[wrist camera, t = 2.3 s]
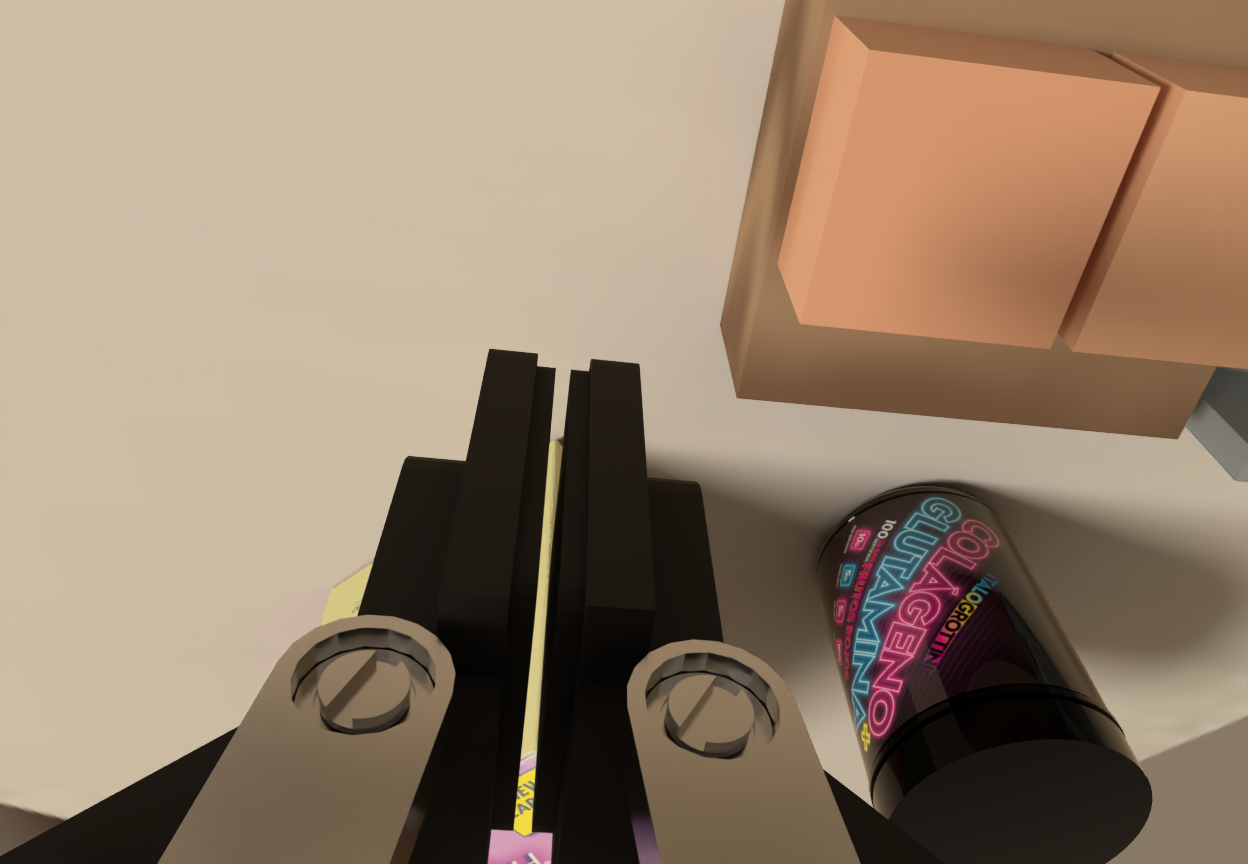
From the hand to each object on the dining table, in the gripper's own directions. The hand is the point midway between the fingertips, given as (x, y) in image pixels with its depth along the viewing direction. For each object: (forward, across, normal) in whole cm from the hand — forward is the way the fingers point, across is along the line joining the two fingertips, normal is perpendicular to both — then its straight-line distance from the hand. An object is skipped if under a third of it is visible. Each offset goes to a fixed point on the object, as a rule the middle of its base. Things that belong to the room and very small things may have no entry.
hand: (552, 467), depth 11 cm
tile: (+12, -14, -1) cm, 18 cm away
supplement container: (+16, -13, +14) cm, 25 cm away
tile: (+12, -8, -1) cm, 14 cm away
